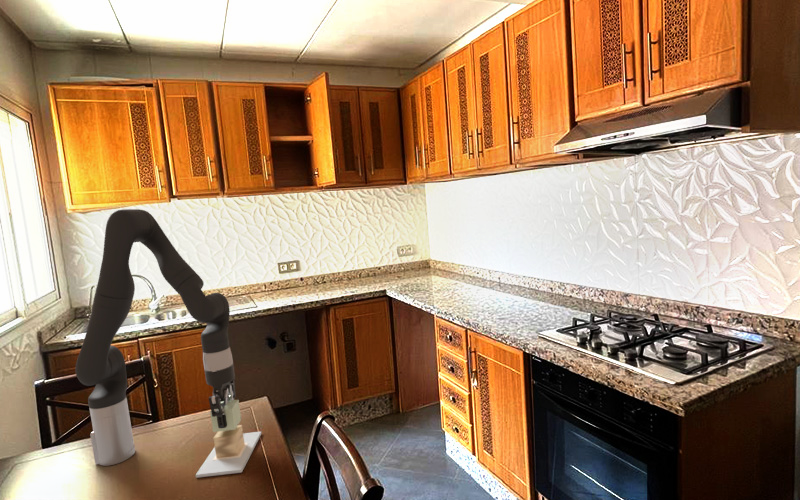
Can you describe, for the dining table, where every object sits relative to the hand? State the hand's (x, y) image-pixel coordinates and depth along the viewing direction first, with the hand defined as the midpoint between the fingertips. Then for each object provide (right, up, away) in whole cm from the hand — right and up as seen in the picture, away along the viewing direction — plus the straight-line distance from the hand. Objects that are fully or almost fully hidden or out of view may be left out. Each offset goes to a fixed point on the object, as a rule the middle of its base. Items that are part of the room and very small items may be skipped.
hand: (226, 421), depth 127 cm
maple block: (+1, -9, +1) cm, 9 cm away
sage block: (0, -1, 0) cm, 1 cm away
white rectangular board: (+1, -10, +1) cm, 10 cm away
